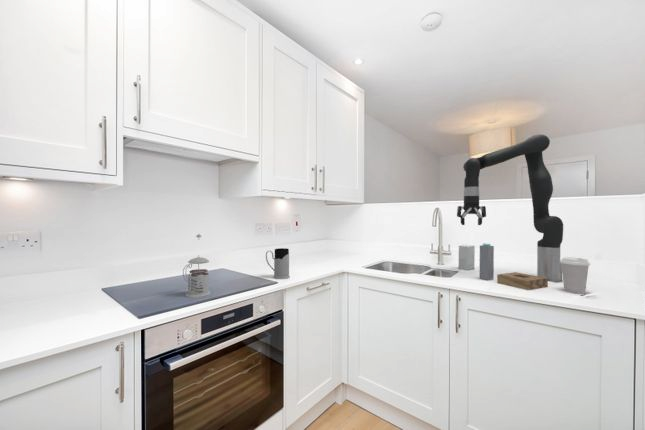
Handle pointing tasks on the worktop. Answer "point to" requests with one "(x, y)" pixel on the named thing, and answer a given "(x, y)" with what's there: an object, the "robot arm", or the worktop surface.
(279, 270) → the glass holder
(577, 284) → the coffee cup
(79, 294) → the worktop surface
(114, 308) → the worktop surface
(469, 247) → the skincare box
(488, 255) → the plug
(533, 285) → the brown wooden block
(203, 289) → the french press
